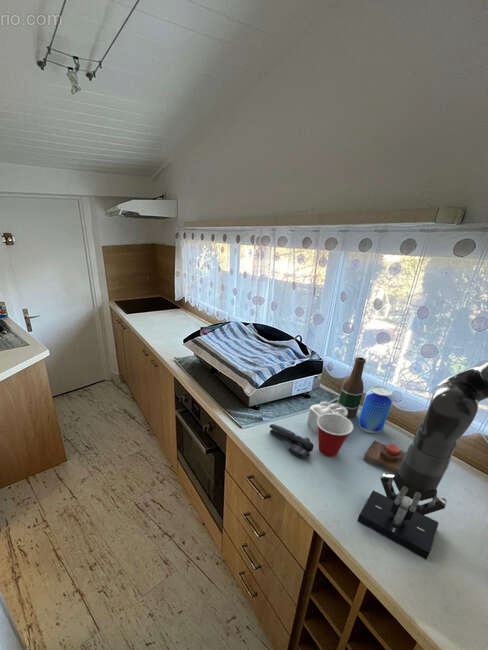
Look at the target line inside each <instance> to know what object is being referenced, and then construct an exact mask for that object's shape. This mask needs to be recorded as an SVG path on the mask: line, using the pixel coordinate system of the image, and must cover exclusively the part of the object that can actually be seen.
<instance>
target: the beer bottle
mask: <svg viewBox="0 0 488 650" xmlns="http://www.w3.org/2000/svg"><path fill="white" fill-rule="evenodd" d="M366 362H367V361H366V358H364V357H359V356H358V357H355V359H354V364H353V367H352V369H351V373H350V374H349V376H348V377H347V378H346V379H345V380H344V381H343V382H342V385H341V389H340V393H339V396H338V400H337V404H338V405H340V406H342V407H344V408H346V409H347V411H348V415H347V419H352V418H355V417H357V414H358V410H359V407H360V405H361V401H362V397H363V394H364V390H365V389H364V381H363V379H362V378H363V372H364V368H365V364H366Z"/></svg>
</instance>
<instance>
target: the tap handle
mask: <svg viewBox="0 0 488 650" xmlns="http://www.w3.org/2000/svg"><path fill="white" fill-rule="evenodd" d="M411 503H412V499H411V498H409V497H407V496H404V498H403V500H402V502H401V504H400V507H399V509H398V511H397V513H396V516H395V518H394V520H393V522H392V525H394V526H396V527H398V528H399V527H400V525H401V523H402V521H403V519H404V517H405V515H406V513H407V511H408V508H409V505H411Z"/></svg>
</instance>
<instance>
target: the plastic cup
mask: <svg viewBox="0 0 488 650" xmlns="http://www.w3.org/2000/svg"><path fill="white" fill-rule="evenodd" d="M317 425H318V429H319V432H318V434H317V435H318V440H317V441H318V451H319V453H320V454H321V455H323V456H325V457H329V458H334V457H336V456H337V455H338V453H339V452H340V449H341V448H342V446H343V445H344V443H345V441H346V440H347V438H348V436H349V435H350V433H352V432H353V430H354V424H353V422H352V421H351V420H350V418H345V417H344V416H341V415H338V414H331V413H328V414H322V415H321V416H319V417H318V418H317Z"/></svg>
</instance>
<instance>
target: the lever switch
mask: <svg viewBox="0 0 488 650" xmlns="http://www.w3.org/2000/svg"><path fill="white" fill-rule="evenodd" d="M392 505H393V500H392V499H388V498H387V496H386V495H384V494H382V493H380V492H378V491H375V490H374V489H372V491H371V492H370V495H369V496H368V498H367V500H366V502H365V504H364V505H363V507H362V509H361V511H360V513H359V515H358V518H357V520H356V521H357V522H359V523H360V524H362V525H364V526H366V527H367V528H369V529H370V530H373V531H374V532H376V533H379V534H380V535H381V536H384V537H385V538H387V539H389V540H391V541H393V542H394V543H396V544H397V545H399V546H401V547H403V548H404V549H407V550H408V551H410V552H411V553H414V554H415V555H417V556H419V557H421V558H423V559H424V560H427V559H428V558H429V556H430V555H431V551H432V547H433V545H434V540H435V538H436V534H437V530H438V527H439V524H440V523H439V521H437V520H436V519H435V520H434V519H433V518H431V517H429V516H427V515H421V514H420V513H418V512H415V513H414V514H413V516H412V518H411V520H406V521H404V520H403V521H402V523H401V525H400V527H399V528H398V527H396V526H394V525H392V522H393V520H394V518H395V515H393V512H391V507H392Z"/></svg>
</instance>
